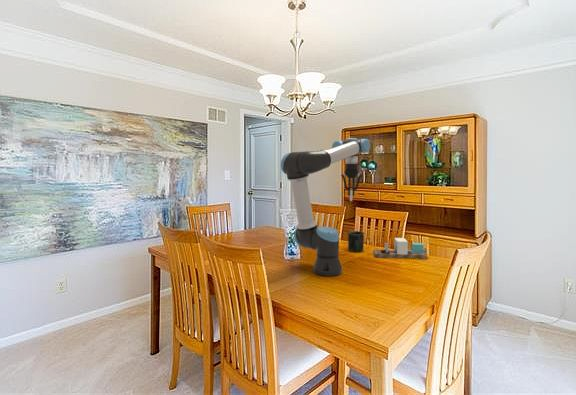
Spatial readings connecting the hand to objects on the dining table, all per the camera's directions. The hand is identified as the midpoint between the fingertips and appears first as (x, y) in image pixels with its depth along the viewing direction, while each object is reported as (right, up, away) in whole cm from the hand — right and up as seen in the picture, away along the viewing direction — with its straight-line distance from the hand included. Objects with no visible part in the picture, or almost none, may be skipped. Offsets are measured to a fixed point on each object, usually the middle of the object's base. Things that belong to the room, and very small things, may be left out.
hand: (351, 200), depth 204 cm
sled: (+33, -32, -3) cm, 46 cm away
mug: (+6, -34, +14) cm, 37 cm away
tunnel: (+30, -32, -3) cm, 44 cm away
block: (+40, -31, -4) cm, 51 cm away
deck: (+29, -35, -2) cm, 45 cm away
